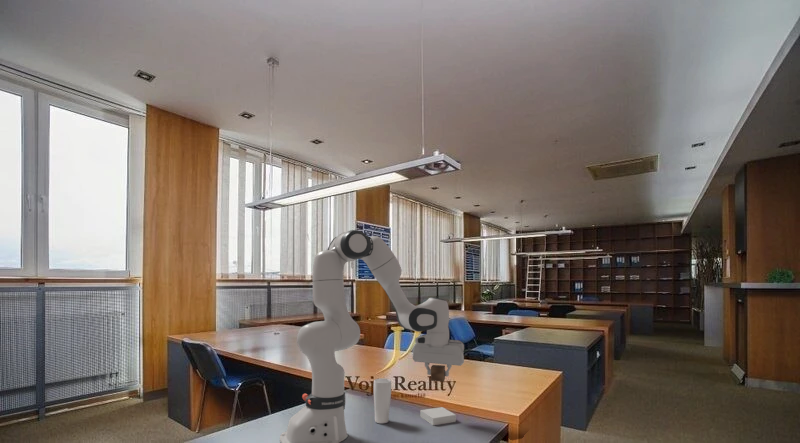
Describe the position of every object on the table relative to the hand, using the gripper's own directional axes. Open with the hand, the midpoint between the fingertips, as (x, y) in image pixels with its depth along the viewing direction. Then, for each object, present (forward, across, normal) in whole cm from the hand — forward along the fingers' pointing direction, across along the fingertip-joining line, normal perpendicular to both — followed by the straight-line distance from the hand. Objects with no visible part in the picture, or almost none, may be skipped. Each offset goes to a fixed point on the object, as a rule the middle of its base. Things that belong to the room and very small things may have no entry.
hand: (438, 375), depth 163 cm
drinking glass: (+16, +19, +11) cm, 27 cm away
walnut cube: (+2, 0, 0) cm, 2 cm away
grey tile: (+16, 0, 0) cm, 16 cm away
